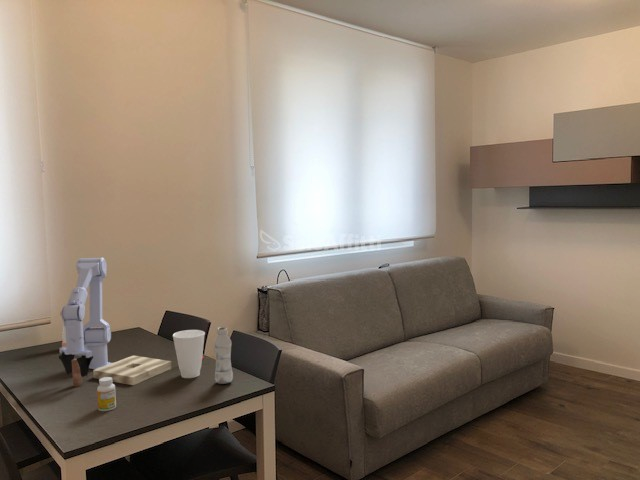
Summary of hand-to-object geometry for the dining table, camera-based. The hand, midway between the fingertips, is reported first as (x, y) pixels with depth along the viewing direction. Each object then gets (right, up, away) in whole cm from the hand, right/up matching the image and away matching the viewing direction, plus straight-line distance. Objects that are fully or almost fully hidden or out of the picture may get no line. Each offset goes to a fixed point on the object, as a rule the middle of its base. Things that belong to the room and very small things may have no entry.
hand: (76, 374), depth 194 cm
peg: (0, -4, 0) cm, 4 cm away
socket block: (+16, -3, +12) cm, 21 cm away
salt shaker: (-24, -1, +48) cm, 54 cm away
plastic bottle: (+53, -3, 0) cm, 53 cm away
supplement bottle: (+19, -6, -21) cm, 29 cm away
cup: (+39, -3, +9) cm, 40 cm away
